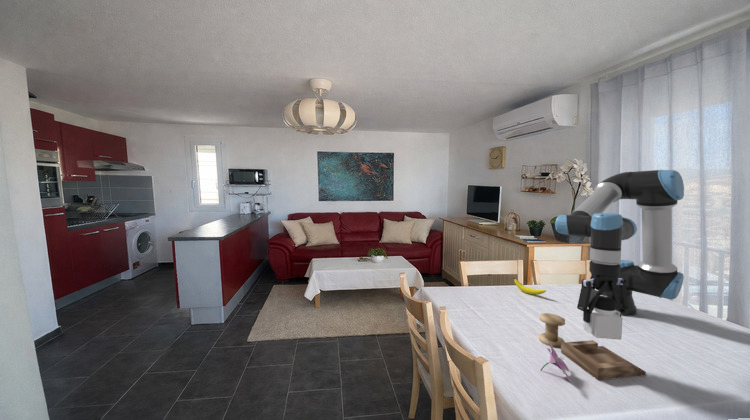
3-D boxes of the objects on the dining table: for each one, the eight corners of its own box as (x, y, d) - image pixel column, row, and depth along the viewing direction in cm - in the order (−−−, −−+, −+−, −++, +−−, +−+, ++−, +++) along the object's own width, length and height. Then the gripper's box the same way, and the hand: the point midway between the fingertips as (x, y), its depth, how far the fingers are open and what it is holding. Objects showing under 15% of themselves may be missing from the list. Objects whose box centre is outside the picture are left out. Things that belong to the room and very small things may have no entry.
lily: (558, 395, 77) (578, 369, 75) (520, 359, 86) (538, 336, 84) (569, 388, 85) (588, 364, 83) (534, 356, 94) (550, 334, 92)
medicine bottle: (621, 340, 84) (623, 302, 83) (595, 338, 86) (597, 300, 85) (607, 328, 91) (608, 293, 90) (583, 327, 93) (584, 292, 92)
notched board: (602, 349, 97) (603, 339, 97) (645, 375, 83) (646, 364, 83) (561, 352, 95) (561, 342, 95) (597, 380, 81) (598, 368, 81)
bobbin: (553, 335, 107) (553, 312, 106) (569, 346, 99) (570, 322, 98) (534, 336, 106) (534, 313, 105) (549, 348, 98) (550, 323, 97)
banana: (544, 300, 140) (544, 288, 140) (511, 288, 157) (511, 278, 157) (548, 299, 142) (548, 287, 141) (515, 288, 159) (515, 277, 158)
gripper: (622, 257, 92) (619, 323, 93) (564, 260, 90) (562, 327, 91) (647, 263, 84) (643, 334, 86) (584, 266, 82) (581, 339, 84)
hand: (601, 330), depth 88 cm, fingers closed on medicine bottle, 8 cm apart
